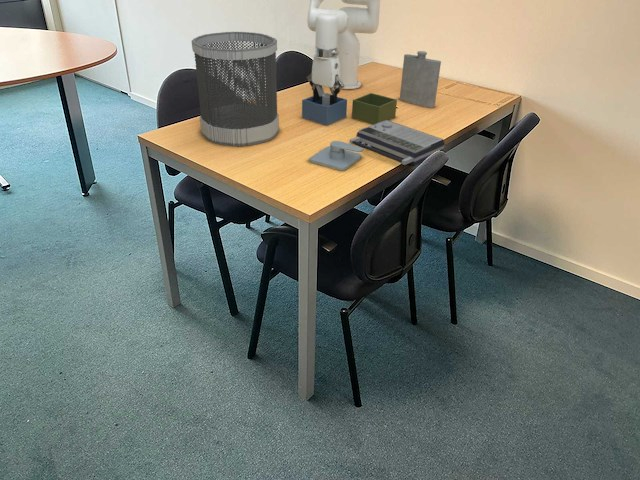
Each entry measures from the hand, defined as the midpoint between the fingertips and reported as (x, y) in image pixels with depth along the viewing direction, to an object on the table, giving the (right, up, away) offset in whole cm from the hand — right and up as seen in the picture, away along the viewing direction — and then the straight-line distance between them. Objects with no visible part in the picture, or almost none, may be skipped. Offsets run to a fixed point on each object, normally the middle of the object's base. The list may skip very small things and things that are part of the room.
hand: (324, 102), depth 191 cm
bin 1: (0, -5, +3) cm, 6 cm away
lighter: (0, -2, +1) cm, 2 cm away
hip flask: (+37, +5, +20) cm, 42 cm away
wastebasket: (-29, -13, -11) cm, 34 cm away
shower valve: (+4, -26, -29) cm, 39 cm away
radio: (+23, -21, -20) cm, 37 cm away
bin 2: (+18, -5, +4) cm, 19 cm away
